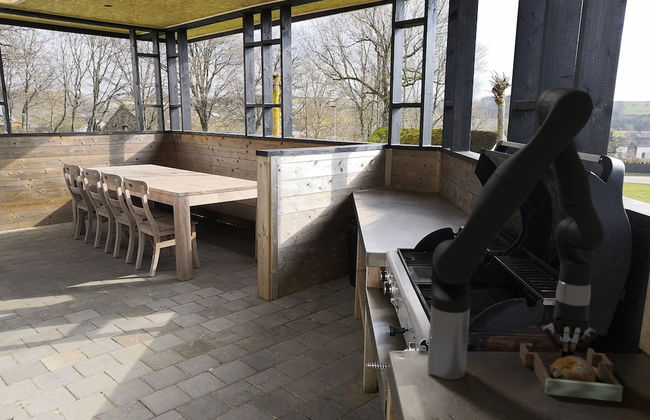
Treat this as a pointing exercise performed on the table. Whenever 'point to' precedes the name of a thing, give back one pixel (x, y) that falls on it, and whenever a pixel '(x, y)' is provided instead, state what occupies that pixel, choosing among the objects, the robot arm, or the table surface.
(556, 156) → the robot arm
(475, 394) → the table surface
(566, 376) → the bread roll
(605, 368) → the box
